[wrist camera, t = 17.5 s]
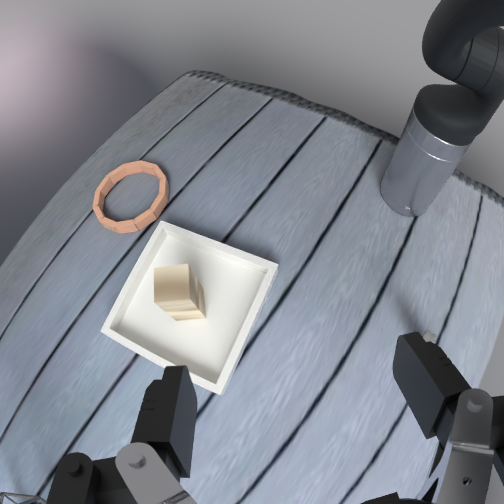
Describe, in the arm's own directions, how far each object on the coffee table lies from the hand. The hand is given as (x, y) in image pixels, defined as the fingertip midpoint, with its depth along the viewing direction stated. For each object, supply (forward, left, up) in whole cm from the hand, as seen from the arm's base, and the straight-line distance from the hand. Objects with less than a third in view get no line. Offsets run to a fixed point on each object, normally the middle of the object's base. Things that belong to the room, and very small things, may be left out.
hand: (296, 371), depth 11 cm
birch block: (-5, -14, -29) cm, 32 cm away
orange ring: (-17, -33, -29) cm, 47 cm away
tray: (-5, -15, -29) cm, 33 cm away
